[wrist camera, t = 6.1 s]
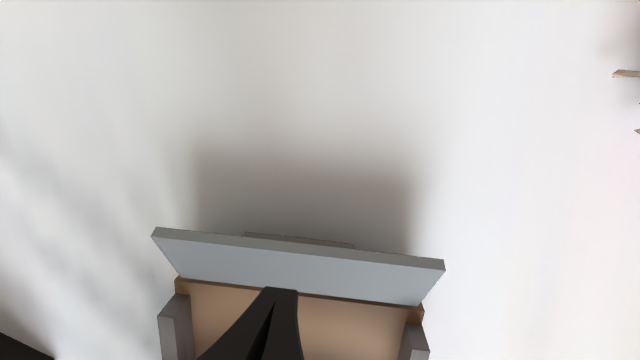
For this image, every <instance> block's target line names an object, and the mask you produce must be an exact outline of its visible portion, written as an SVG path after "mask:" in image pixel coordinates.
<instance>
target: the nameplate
mask: <svg viewBox="0 0 640 360" xmlns="http://www.w3.org/2000/svg"><path fill="white" fill-rule="evenodd" d="M0 360H54V359H53V358H52V357H50V356H48V355H46V354H44V353H41V352H39V351H37V350H35V349H33V348H31V347H29V346H27V345H25V344H23V343H21V342H19V341H17V340H15V339H13V338H11V337H9V336H7V335H5V334H3V333H1V332H0Z"/></svg>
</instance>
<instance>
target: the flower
mask: <svg viewBox="0 0 640 360" xmlns="http://www.w3.org/2000/svg"><path fill="white" fill-rule="evenodd" d="M612 77H640V71H629V70H617V71H616V72H614V73H613V75H612ZM639 104H640V103H639ZM634 131H636V132H637V133H639V134H640V129H637V130H634Z"/></svg>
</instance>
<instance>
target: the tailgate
mask: <svg viewBox="0 0 640 360" xmlns="http://www.w3.org/2000/svg"><path fill="white" fill-rule="evenodd" d="M151 238H152V239H153V241H154V242H155V243H156V244H157V246H158V247H159V248H160V250H161V251H162V252H163V254H164V255H165V256H166V258H167V259H168V260H169V262H170V263H171V264H172V266H173V267H174V268H175V270H176V271H177V272H178V274H179V275H180V276H181V278H189V279H197V280H205V281H213V282H222V283H230V284H238V285H246V286H254V287H262V288H264V287H265V286H270V287H278V288H286V289H294V290H297V291H298V292H303V293H311V294H320V295H328V296H336V297H344V298H352V299H360V300H369V301H377V302H385V303H393V304H401V305H409V306H418V305H419V304H420V302H421V301H422V300H423V299H424V297H425V296H426V295H427V294H428V292H429V291H430V290H431V289H432V287H433V286H434V285H435V284H436V282H437V281H438V280H439V279H440V277H441V276H442V275H443V274H444V272H445V271H446V270H445V265H444V260H443V259H434V258H425V257H417V256H408V255H399V254H390V253H382V252H373V251H364V250H355V249H353V247H354V244H349V243H340V242H331V241H323V240H314V239H305V238H296V237H287V236H278V235H270V234H261V233H252V232H244V234H243V237H241V236H233V235H224V234H215V233H206V232H198V231H189V230H180V229H171V228H162V227H156V228H155V230H154V231H153V233H152V235H151Z"/></svg>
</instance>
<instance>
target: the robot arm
mask: <svg viewBox="0 0 640 360" xmlns="http://www.w3.org/2000/svg"><path fill="white" fill-rule="evenodd" d="M298 297H299V292H298V291H297V290H294V289H286V288H278V287H270V286H265V287H264V288H263V289H262V290H261V292H260V293H259V294H258V296H257V297H256V298H255V299H254V301H253V302H252V303H251V304H250V305H249V307H248V308H247V309H246V310H245V311H244V312H243V314H242V315H241V316H240V317H239V318H238V319H237V320H236V321H235V322H234V323H233V325H232V326H231V327H230V328H229V329H228V330H227V331H226V332H225V333H224V334H223V335H222V336H221V337H220V338H219V339H218V340H217V341H216V342H215V343H213V344H212V345H211V346H210V347H209V348H208V349H207V350H206V351H205V352H204V353H202V354H201V355H200V356H199V357H198V358H197V359H195V360H304V355H303V350H302V346H301V340H300V334H299V326H298V317H297V311H298Z"/></svg>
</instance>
